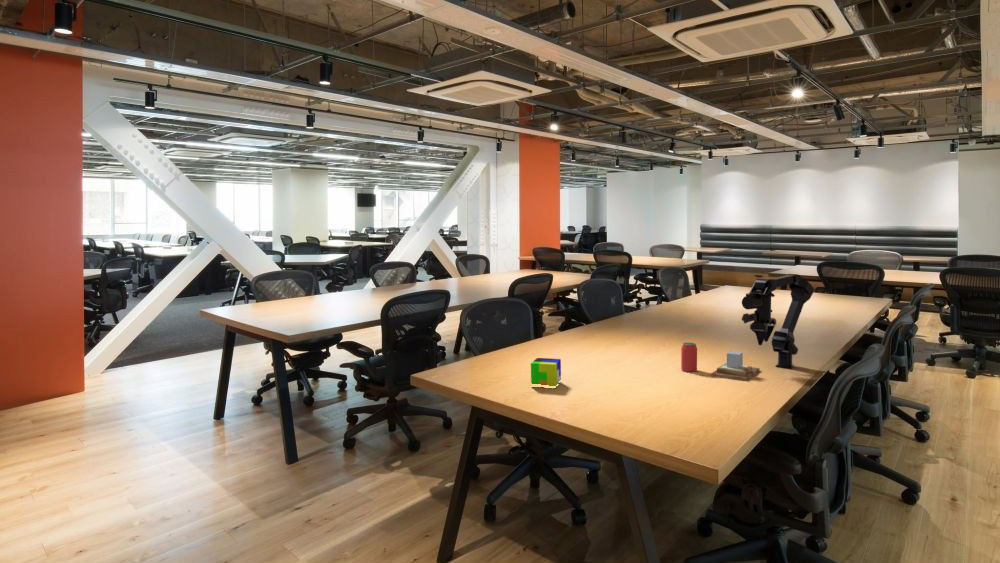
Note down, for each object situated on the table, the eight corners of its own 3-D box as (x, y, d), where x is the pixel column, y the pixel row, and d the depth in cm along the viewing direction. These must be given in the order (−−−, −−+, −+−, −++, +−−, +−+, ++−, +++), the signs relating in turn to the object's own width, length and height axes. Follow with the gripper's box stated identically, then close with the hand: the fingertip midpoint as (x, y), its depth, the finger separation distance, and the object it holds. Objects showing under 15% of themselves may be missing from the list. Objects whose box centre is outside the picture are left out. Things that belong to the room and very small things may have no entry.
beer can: (698, 372, 246) (698, 345, 245) (682, 372, 248) (682, 345, 247) (695, 368, 253) (696, 342, 252) (680, 368, 254) (680, 342, 253)
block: (730, 364, 245) (730, 351, 245) (742, 366, 242) (742, 352, 242) (726, 367, 241) (726, 353, 241) (738, 368, 238) (739, 354, 238)
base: (726, 366, 256) (726, 359, 255) (759, 370, 247) (759, 363, 247) (711, 376, 240) (711, 368, 240) (746, 380, 232) (746, 373, 231)
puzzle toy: (561, 382, 236) (560, 359, 235) (555, 389, 227) (555, 364, 226) (537, 381, 239) (537, 357, 238) (531, 387, 230) (530, 363, 229)
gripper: (750, 303, 257) (749, 338, 258) (737, 309, 242) (737, 345, 244) (777, 305, 250) (776, 340, 251) (765, 310, 235) (764, 348, 237)
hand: (763, 343), depth 246 cm, fingers open, 9 cm apart
